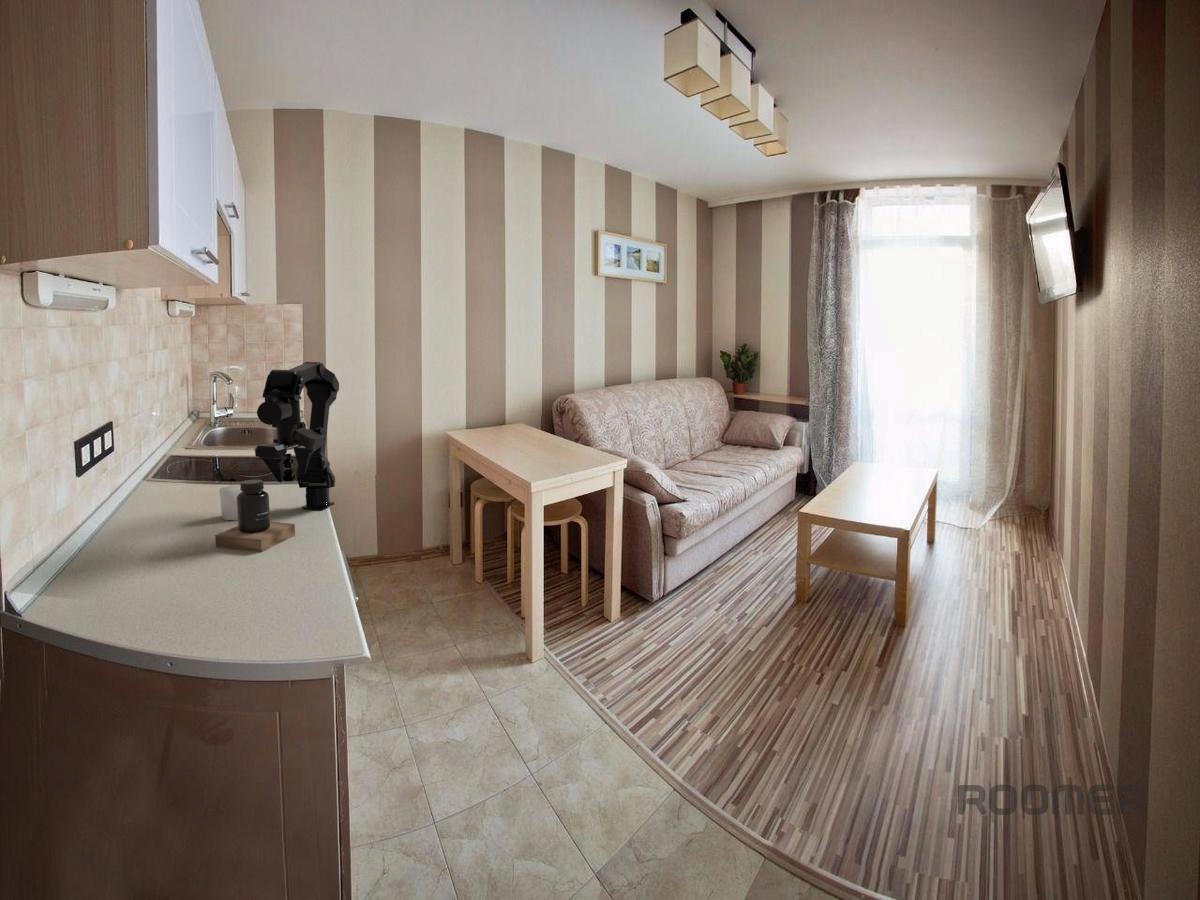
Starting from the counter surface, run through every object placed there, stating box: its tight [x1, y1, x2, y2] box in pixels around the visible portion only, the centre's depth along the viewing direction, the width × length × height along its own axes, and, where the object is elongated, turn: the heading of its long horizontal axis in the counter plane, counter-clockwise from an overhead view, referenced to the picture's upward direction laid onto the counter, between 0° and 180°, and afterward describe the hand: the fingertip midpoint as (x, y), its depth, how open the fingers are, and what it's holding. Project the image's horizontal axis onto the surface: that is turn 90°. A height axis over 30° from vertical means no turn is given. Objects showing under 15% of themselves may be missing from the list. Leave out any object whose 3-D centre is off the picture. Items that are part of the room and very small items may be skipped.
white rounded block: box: [219, 484, 242, 521], centre depth 162 cm, size 7×7×8 cm
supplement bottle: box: [236, 479, 271, 533], centre depth 144 cm, size 7×7×12 cm
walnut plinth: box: [214, 521, 296, 553], centre depth 145 cm, size 12×12×3 cm
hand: (292, 477), depth 155 cm, fingers open, 9 cm apart
